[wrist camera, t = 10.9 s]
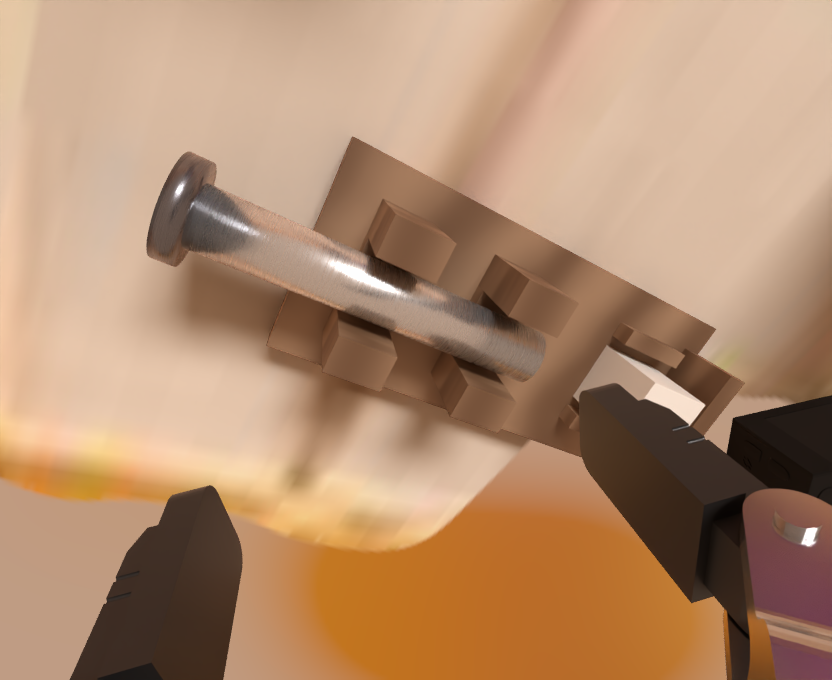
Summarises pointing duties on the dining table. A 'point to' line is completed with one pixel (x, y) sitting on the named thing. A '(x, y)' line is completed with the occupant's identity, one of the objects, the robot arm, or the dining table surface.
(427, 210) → the stand
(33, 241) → the dining table surface
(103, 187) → the dining table surface
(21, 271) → the dining table surface
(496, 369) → the shaft
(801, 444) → the digital camera
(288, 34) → the dining table surface
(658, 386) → the block
